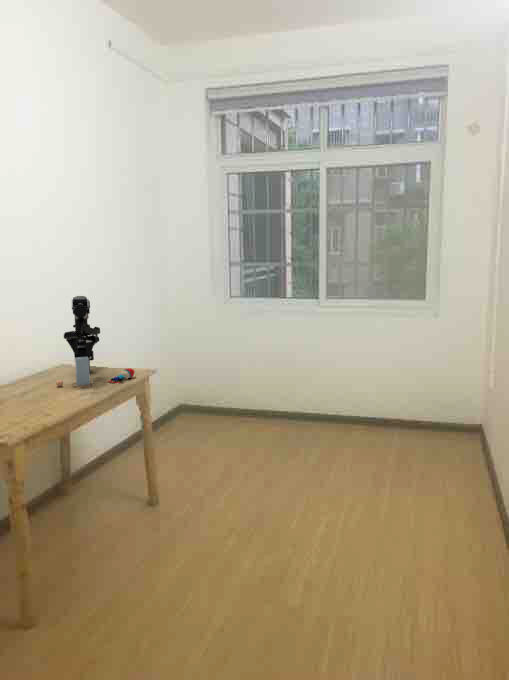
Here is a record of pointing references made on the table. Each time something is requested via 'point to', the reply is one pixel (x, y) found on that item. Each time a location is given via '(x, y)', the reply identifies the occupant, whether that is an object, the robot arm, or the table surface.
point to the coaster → (83, 385)
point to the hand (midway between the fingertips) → (82, 355)
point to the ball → (59, 383)
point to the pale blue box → (82, 371)
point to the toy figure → (123, 375)
